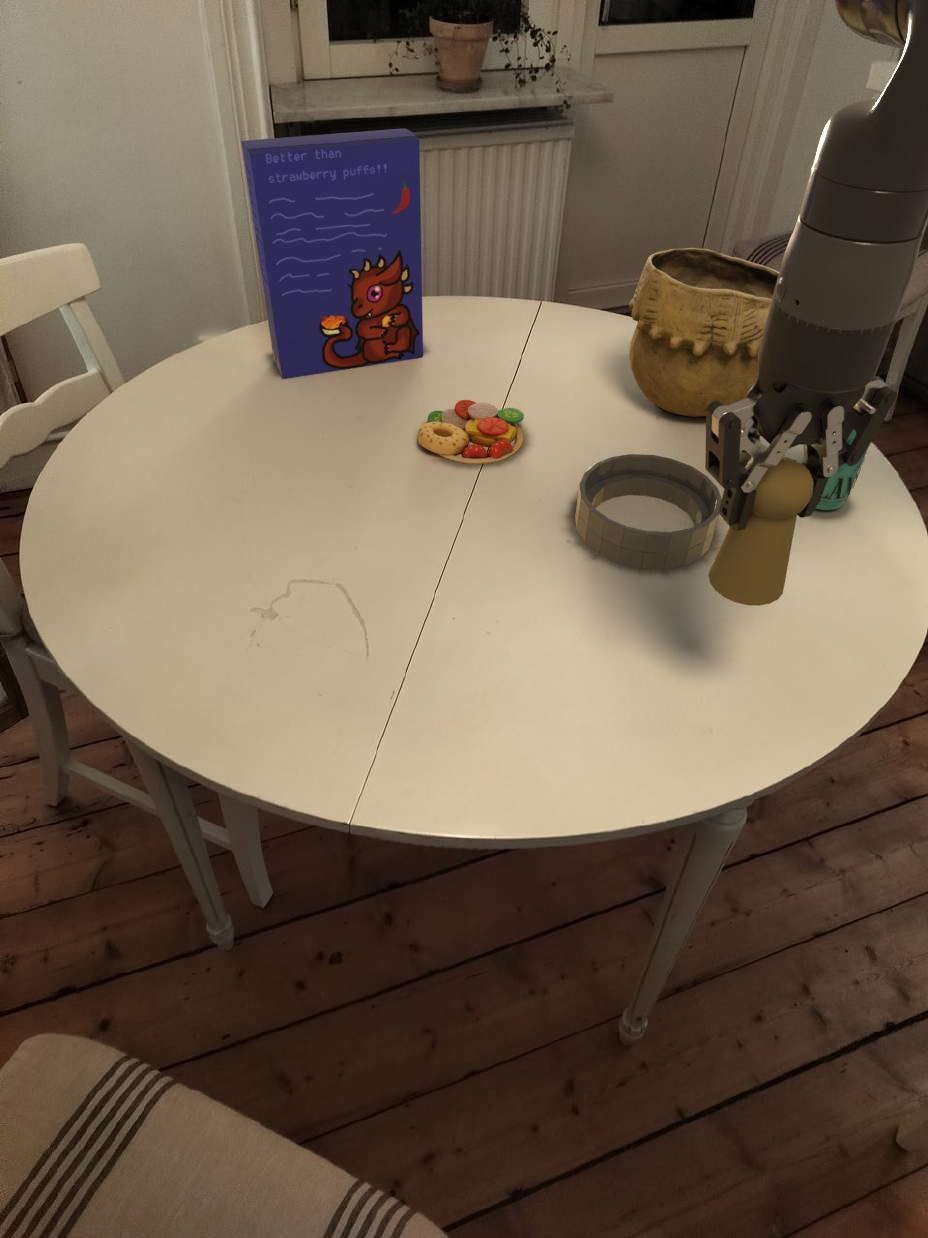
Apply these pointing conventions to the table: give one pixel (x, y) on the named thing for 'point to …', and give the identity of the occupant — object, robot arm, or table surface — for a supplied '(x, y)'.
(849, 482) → the beverage bottle
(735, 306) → the clay pot
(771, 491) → the tan game pawn
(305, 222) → the cereal box
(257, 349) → the table surface
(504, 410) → the toy food set
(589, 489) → the tiled ring wall
